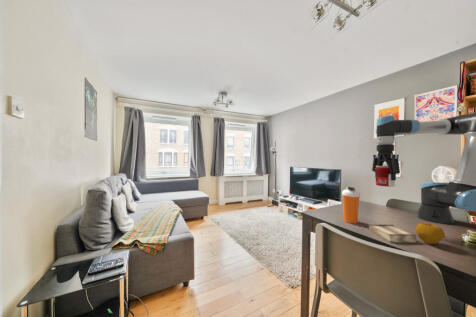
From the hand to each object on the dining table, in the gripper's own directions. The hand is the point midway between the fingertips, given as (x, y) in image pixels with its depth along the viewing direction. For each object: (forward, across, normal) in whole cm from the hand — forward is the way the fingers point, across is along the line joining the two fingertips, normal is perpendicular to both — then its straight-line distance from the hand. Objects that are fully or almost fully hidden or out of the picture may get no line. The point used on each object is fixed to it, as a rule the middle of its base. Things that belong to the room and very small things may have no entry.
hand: (384, 184), depth 97 cm
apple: (+23, +20, +3) cm, 31 cm away
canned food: (0, 0, 0) cm, 0 cm away
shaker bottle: (+23, -6, -15) cm, 28 cm away
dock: (+23, +13, -8) cm, 27 cm away
